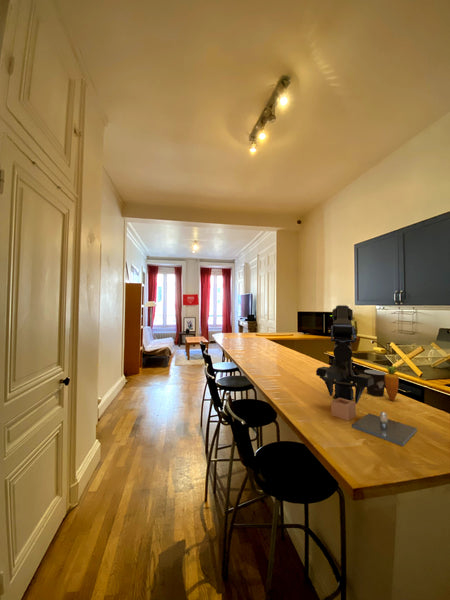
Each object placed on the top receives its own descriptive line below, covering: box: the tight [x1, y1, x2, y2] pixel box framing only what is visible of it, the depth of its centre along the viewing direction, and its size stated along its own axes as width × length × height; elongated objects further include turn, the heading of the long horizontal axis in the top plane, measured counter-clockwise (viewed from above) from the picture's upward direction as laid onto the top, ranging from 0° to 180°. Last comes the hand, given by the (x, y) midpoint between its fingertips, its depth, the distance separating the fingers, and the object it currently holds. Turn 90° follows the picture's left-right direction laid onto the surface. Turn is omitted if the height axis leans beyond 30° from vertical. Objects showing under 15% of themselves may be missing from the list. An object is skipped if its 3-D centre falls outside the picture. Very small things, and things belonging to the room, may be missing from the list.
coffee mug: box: [363, 369, 387, 398], centre depth 113 cm, size 12×9×10 cm
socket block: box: [330, 398, 357, 422], centre depth 89 cm, size 6×6×5 cm
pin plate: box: [351, 411, 418, 447], centre depth 79 cm, size 14×14×6 cm
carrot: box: [385, 365, 399, 402], centre depth 104 cm, size 5×5×15 cm
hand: (343, 399), depth 89 cm, fingers open, 9 cm apart
